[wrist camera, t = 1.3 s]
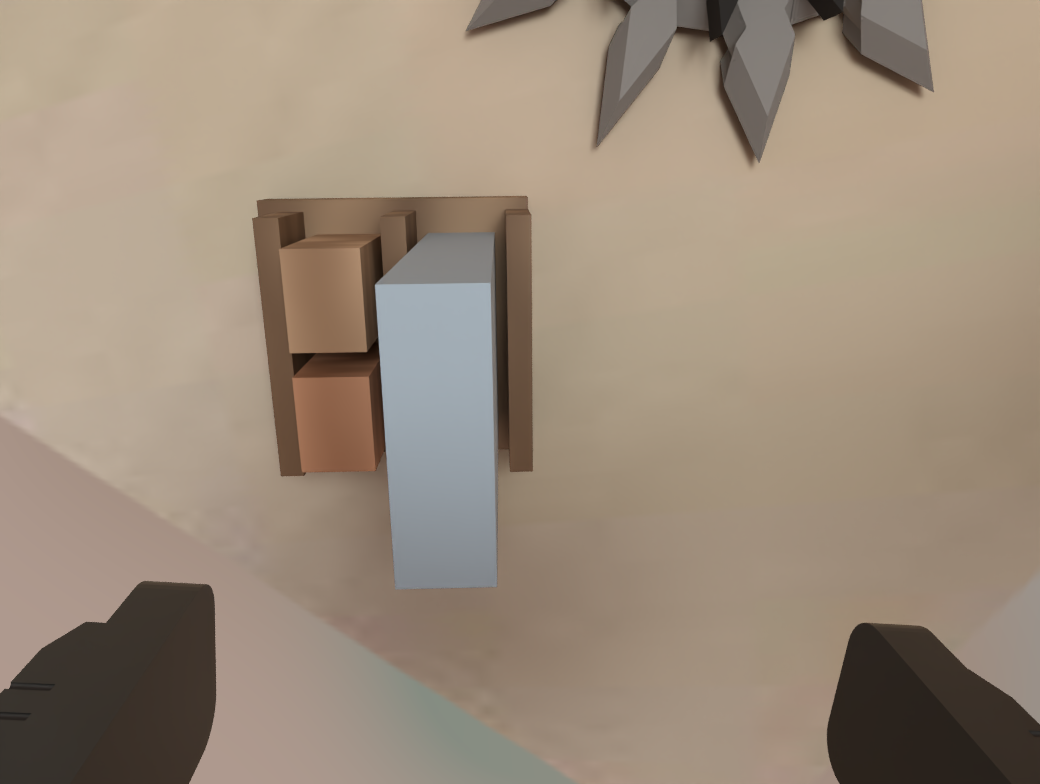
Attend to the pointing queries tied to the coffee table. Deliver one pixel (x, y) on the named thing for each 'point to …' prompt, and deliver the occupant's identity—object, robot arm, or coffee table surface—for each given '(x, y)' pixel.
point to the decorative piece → (742, 46)
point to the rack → (399, 234)
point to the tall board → (441, 410)
